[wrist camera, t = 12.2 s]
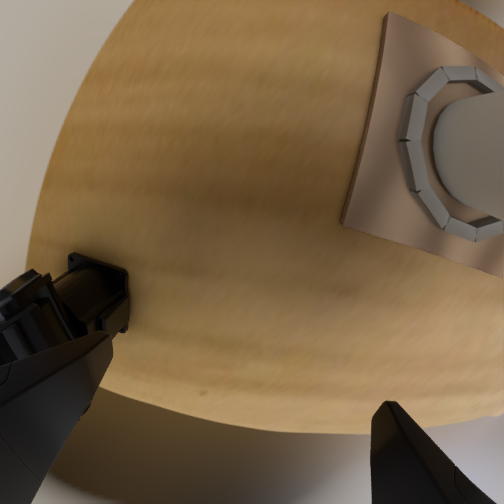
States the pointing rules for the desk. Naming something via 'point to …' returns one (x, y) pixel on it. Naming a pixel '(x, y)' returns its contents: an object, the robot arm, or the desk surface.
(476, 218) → the collar board
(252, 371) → the desk surface
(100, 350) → the robot arm
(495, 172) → the can
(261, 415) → the desk surface
